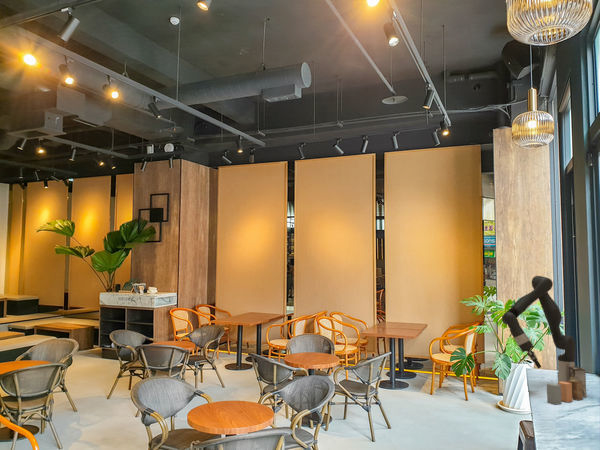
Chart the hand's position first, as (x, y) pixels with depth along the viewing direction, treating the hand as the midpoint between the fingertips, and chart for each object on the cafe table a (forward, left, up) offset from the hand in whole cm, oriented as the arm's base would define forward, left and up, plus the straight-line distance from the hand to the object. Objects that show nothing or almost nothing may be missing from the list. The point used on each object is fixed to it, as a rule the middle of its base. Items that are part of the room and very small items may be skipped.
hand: (539, 367), depth 272 cm
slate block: (+15, -3, -16) cm, 22 cm away
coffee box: (+2, +24, -17) cm, 29 cm away
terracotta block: (+12, +7, -16) cm, 21 cm away
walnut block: (+8, +16, -16) cm, 25 cm away
